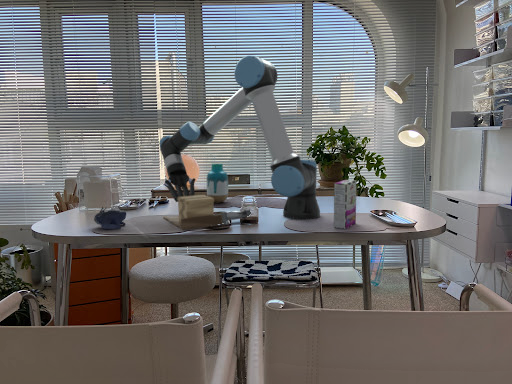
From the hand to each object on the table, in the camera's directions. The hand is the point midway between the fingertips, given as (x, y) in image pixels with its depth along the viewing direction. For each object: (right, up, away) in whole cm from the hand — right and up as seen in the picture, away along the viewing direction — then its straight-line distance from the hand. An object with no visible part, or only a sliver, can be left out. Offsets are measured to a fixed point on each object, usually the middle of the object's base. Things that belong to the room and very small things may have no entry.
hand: (190, 214), depth 154 cm
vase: (+6, +3, +45) cm, 46 cm away
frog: (-28, -5, -6) cm, 29 cm away
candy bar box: (+58, -4, -6) cm, 59 cm away
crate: (+3, -3, -5) cm, 7 cm away
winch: (+18, -3, 0) cm, 18 cm away
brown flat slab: (0, -3, 0) cm, 3 cm away
